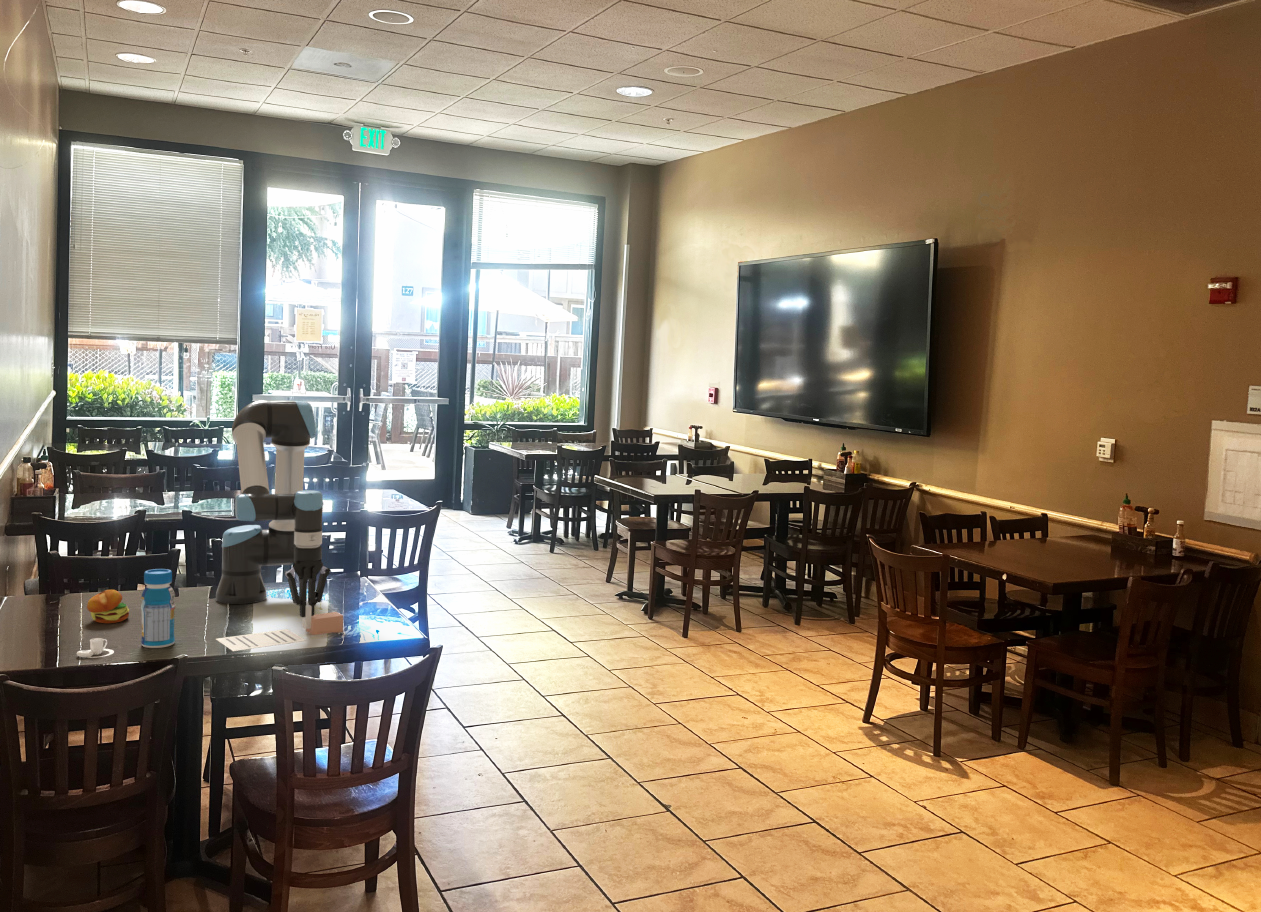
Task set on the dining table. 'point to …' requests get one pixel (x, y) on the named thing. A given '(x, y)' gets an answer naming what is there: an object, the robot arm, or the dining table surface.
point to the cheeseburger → (108, 607)
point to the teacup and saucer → (95, 649)
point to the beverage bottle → (157, 609)
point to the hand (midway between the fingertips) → (306, 627)
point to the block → (326, 623)
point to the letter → (260, 640)
